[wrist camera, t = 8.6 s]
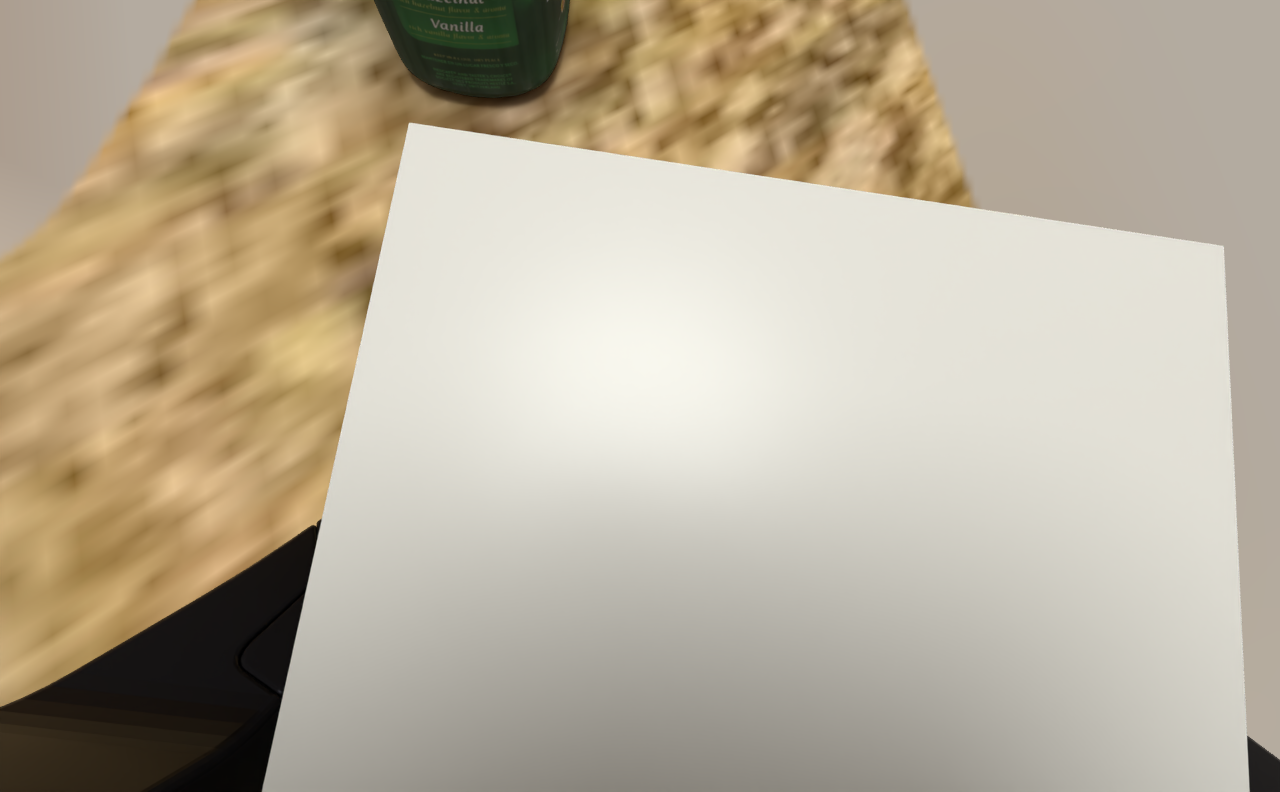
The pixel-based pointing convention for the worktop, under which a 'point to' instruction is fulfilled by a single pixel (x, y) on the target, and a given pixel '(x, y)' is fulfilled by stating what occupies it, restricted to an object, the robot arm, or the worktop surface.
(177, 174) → the worktop surface
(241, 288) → the worktop surface
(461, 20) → the coffee jar
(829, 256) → the white rectangular block
